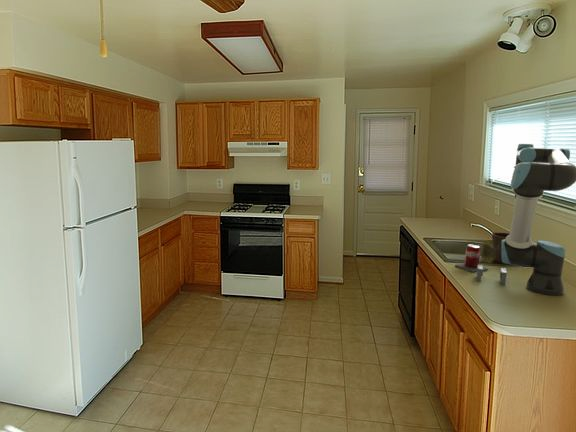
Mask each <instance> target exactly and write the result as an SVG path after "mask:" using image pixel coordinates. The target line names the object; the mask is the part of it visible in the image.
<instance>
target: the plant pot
mask: <svg viewBox="0 0 576 432" xmlns="http://www.w3.org/2000/svg"><path fill="white" fill-rule="evenodd" d="M491 235H492V237H491V238H492V241H491V242H492V249H493V250H492V251H493V254H494V255H493V256H494V258H495V259H494V260H495V261H496V262H497V263H498V262H499V263H503V262H502V253H501V252H502V248H501V242H502V240H504V239H506V237H507V236H508V235H510V232H509V233H507V232H493V233H492V234H491Z"/></svg>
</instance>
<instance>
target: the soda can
mask: <svg viewBox="0 0 576 432" xmlns="http://www.w3.org/2000/svg"><path fill="white" fill-rule="evenodd" d="M481 249H482V248H481V246H480V245H477V244H467V245H466V248H465V256H464V264H465V266H466V267H468V268H478V265H480V258H481Z"/></svg>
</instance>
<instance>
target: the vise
mask: <svg viewBox="0 0 576 432" xmlns="http://www.w3.org/2000/svg"><path fill="white" fill-rule="evenodd" d="M483 267H484V266H483V265H482V264H479V265H478V269H477V272H476V282H480V283H481V281H482V277H483V274H484V271H483ZM507 273H508V271H507V268H505V267H501V268H500V269H499V282H500V285H501V286H506V284H507V283H506V282H507V276H508V275H507Z"/></svg>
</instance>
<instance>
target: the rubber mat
mask: <svg viewBox="0 0 576 432" xmlns="http://www.w3.org/2000/svg"><path fill="white" fill-rule="evenodd" d="M455 266H456V268H459V269H460V268H461V270H463V269H464V270H463V271H467V272H469V273H471V274H473V273H477V269H478V268H468V267H466V266H465V263H459V264H454V267H455ZM487 270H488V271H489V268H487V267H485V266H483V272H486V271H487Z"/></svg>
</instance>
